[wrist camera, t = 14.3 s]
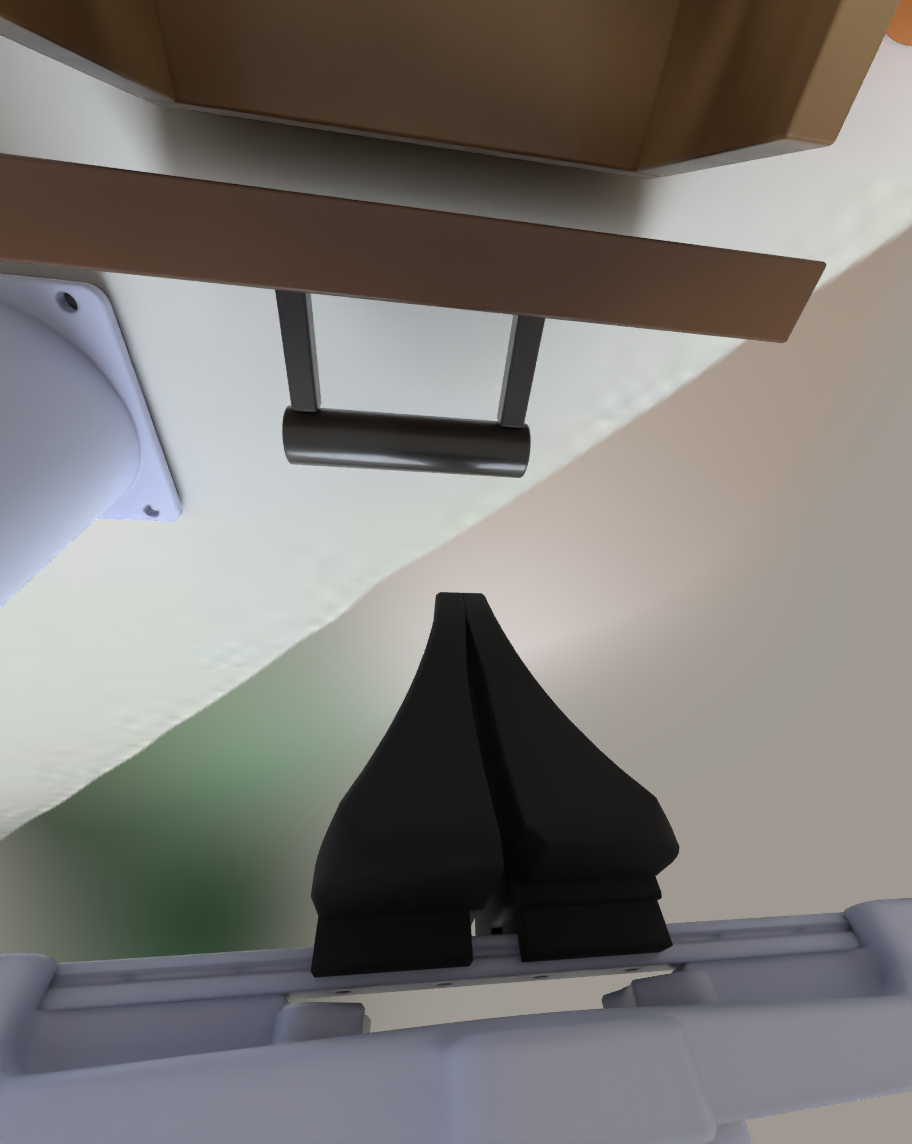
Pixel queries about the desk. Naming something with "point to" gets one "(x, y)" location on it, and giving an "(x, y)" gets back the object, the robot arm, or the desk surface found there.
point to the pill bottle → (902, 24)
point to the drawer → (454, 121)
